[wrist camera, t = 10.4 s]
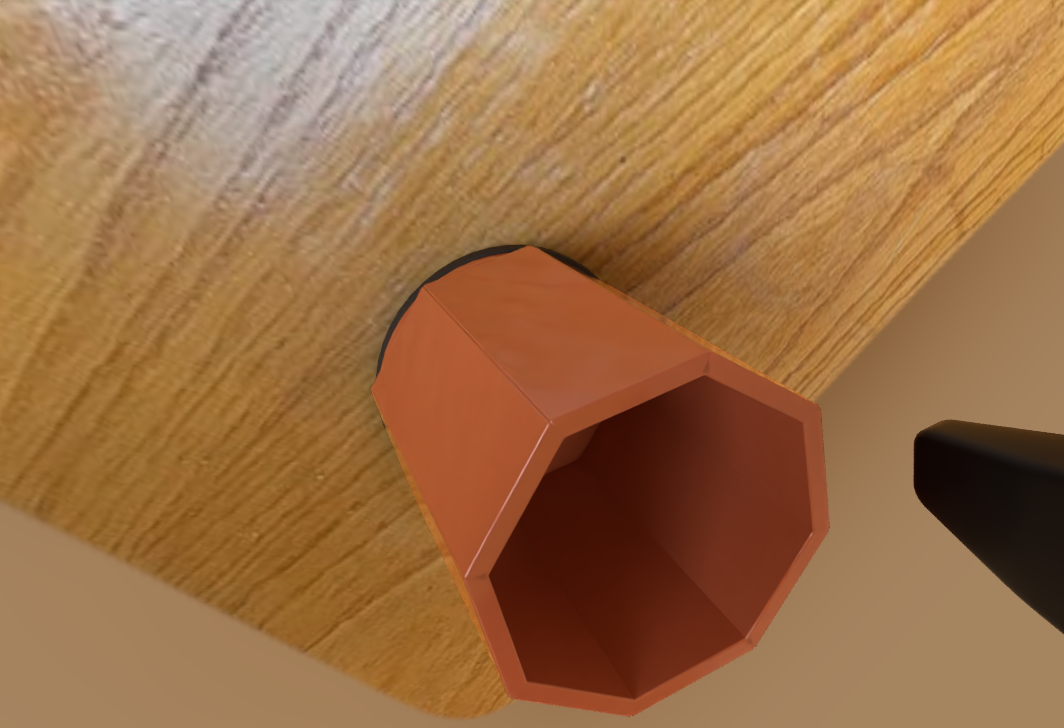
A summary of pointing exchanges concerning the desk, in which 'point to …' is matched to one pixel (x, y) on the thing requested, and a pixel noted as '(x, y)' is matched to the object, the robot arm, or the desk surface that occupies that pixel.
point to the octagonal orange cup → (598, 480)
